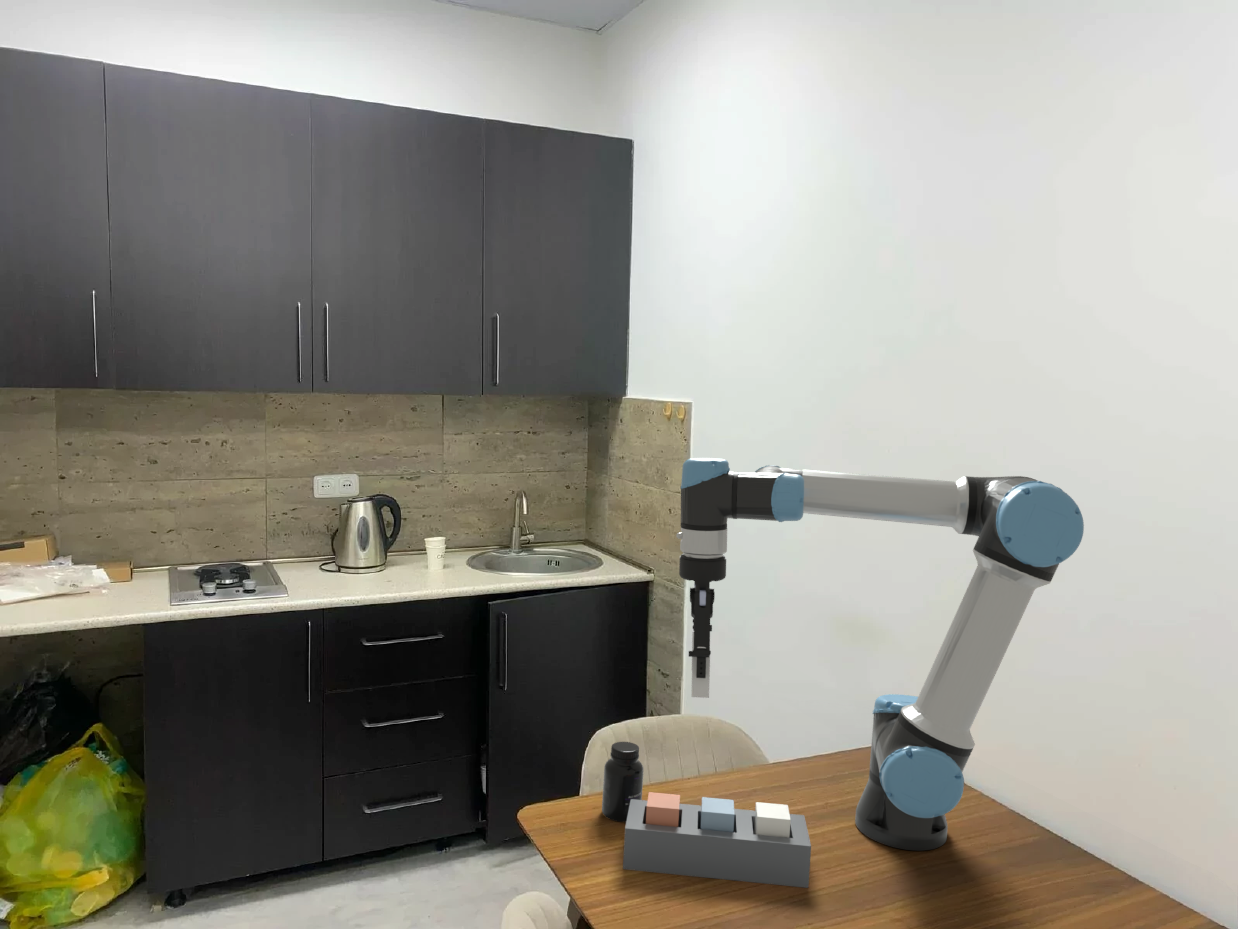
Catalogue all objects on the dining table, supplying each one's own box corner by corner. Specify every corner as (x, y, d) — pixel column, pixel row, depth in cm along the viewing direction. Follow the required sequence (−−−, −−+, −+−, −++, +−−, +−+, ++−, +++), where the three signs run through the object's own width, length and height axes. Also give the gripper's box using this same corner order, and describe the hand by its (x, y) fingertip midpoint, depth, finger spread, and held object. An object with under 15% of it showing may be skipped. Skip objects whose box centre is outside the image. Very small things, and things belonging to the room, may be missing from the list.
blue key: (731, 830, 143) (733, 800, 143) (732, 846, 138) (734, 814, 138) (700, 827, 144) (702, 797, 143) (699, 842, 139) (701, 811, 138)
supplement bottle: (637, 825, 152) (640, 756, 151) (597, 820, 153) (601, 751, 152) (644, 807, 158) (647, 741, 157) (606, 802, 160) (609, 736, 159)
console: (801, 854, 145) (804, 815, 144) (808, 888, 135) (811, 846, 135) (628, 837, 148) (630, 799, 147) (622, 869, 138) (625, 828, 137)
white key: (785, 835, 142) (787, 805, 142) (788, 851, 137) (790, 819, 137) (753, 832, 143) (755, 802, 142) (755, 848, 138) (757, 816, 138)
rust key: (678, 825, 144) (680, 795, 144) (677, 840, 139) (679, 809, 139) (647, 822, 145) (648, 792, 144) (645, 837, 140) (646, 806, 139)
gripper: (680, 541, 158) (678, 659, 159) (678, 567, 133) (675, 708, 134) (723, 542, 157) (720, 661, 159) (729, 569, 132) (725, 710, 134)
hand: (699, 683), depth 147 cm, fingers open, 13 cm apart
